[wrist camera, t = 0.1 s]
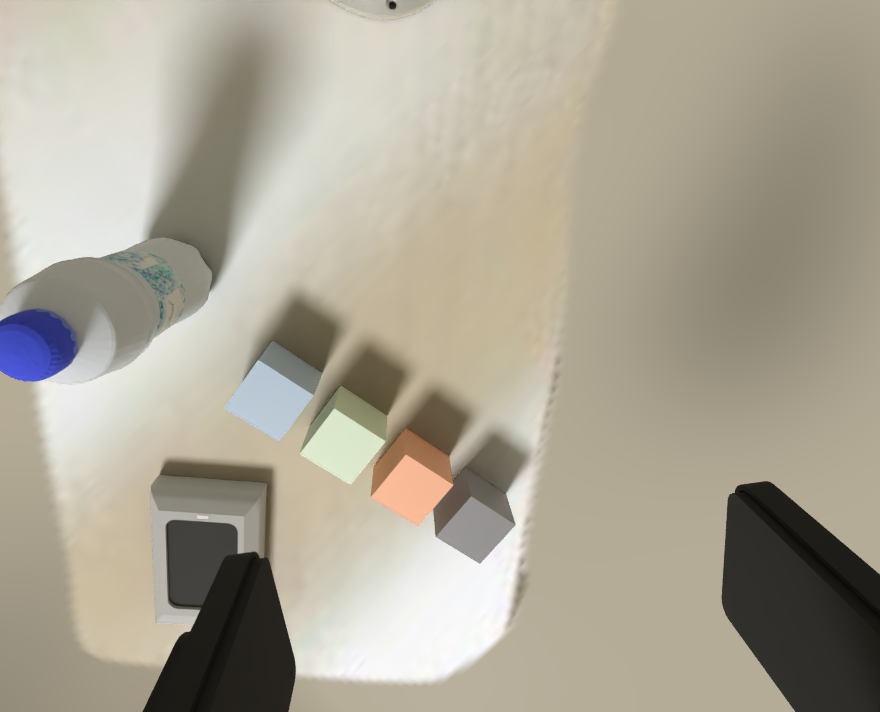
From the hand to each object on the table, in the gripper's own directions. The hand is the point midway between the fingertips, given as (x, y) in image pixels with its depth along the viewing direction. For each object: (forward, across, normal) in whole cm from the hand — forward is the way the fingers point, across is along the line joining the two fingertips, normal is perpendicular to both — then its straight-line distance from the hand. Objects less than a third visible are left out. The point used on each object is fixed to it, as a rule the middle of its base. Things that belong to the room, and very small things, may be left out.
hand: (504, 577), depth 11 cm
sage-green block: (+37, +9, +13) cm, 40 cm away
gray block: (+37, -1, +23) cm, 43 cm away
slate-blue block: (+37, +14, +8) cm, 40 cm away
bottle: (+37, +20, -2) cm, 42 cm away
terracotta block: (+37, +4, +18) cm, 41 cm away
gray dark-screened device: (+37, +24, +24) cm, 50 cm away
